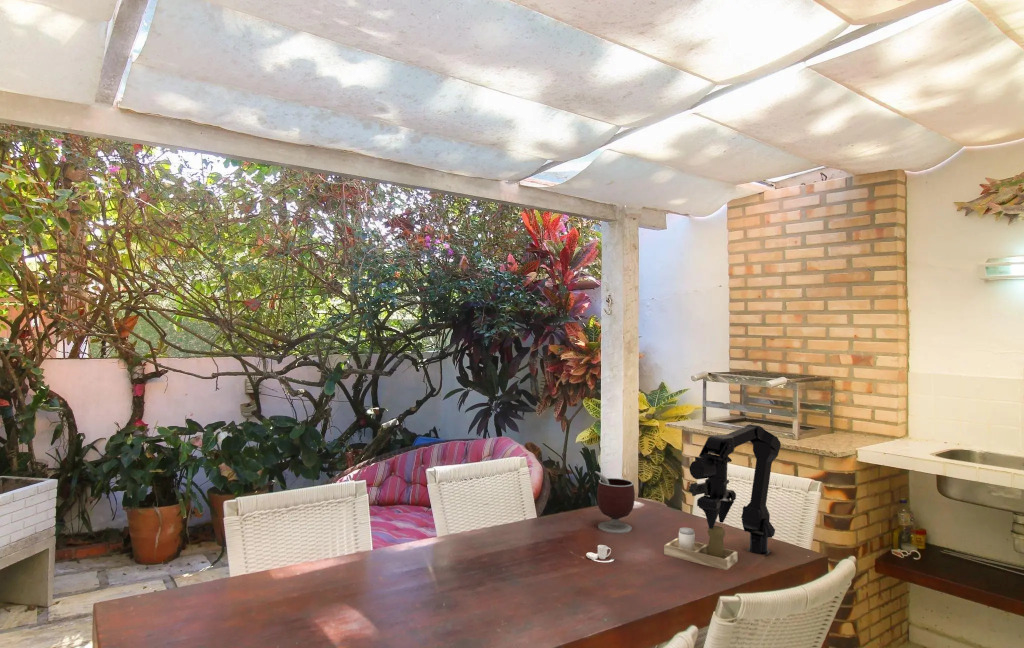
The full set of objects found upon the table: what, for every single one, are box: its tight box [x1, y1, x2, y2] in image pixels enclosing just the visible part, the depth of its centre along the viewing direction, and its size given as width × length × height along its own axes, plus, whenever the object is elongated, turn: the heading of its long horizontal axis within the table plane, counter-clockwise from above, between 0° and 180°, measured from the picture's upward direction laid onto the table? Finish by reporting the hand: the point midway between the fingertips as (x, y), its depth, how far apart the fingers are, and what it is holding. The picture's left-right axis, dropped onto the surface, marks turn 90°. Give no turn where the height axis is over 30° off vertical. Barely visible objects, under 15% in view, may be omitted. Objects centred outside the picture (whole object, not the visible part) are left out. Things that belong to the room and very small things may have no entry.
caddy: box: [663, 537, 739, 571], centre depth 207 cm, size 11×20×4 cm, turn 52°
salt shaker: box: [678, 527, 696, 551], centre depth 210 cm, size 5×5×8 cm
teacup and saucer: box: [585, 544, 616, 563], centre depth 206 cm, size 9×8×4 cm
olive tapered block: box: [707, 525, 726, 559], centre depth 204 cm, size 6×6×11 cm
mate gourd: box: [594, 471, 636, 534], centre depth 239 cm, size 16×14×20 cm
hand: (716, 525), depth 204 cm, fingers open, 9 cm apart
